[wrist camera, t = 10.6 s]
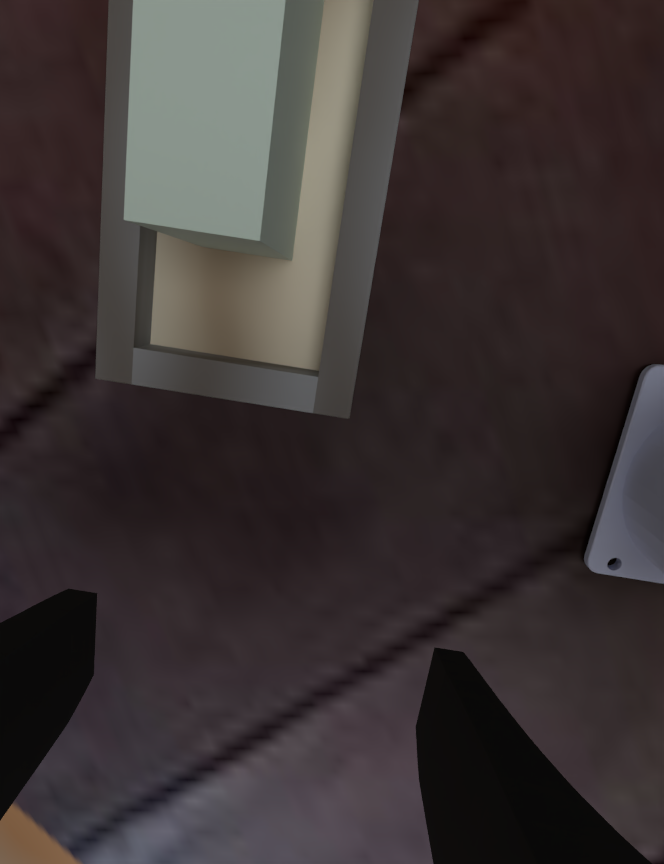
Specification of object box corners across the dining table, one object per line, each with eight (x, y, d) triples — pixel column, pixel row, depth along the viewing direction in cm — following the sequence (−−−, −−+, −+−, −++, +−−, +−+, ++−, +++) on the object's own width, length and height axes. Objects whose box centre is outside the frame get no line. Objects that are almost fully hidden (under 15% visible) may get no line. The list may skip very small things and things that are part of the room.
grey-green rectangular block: (332, -67, 15) (318, -306, 9) (292, 260, 17) (260, 241, 11) (229, -83, 15) (147, -331, 9) (202, 246, 17) (123, 219, 11)
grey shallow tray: (456, -238, 14) (473, -332, 12) (349, 405, 19) (349, 418, 17) (157, -285, 14) (122, -386, 12) (124, 369, 19) (95, 378, 17)
